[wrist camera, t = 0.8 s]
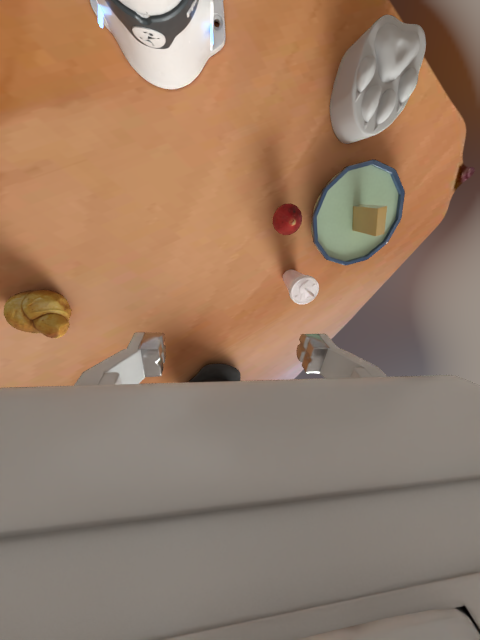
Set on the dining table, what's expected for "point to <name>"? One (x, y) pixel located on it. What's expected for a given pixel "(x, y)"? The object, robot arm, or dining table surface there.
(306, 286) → the smoothie
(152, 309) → the dining table surface
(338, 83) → the lumpy-topped squat cylinder
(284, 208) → the onion
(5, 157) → the dining table surface
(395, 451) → the robot arm
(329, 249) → the plate
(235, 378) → the casserole
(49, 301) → the bread roll
